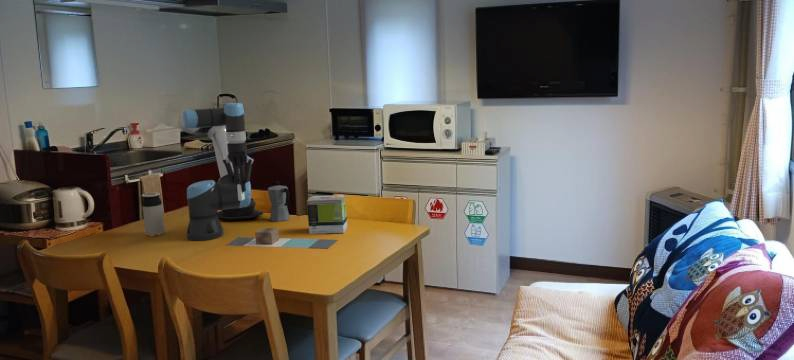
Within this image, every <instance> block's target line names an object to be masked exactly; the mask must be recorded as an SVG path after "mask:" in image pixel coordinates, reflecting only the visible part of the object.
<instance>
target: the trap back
mask: <svg viewBox="0 0 794 360" xmlns="http://www.w3.org/2000/svg"><path fill="white" fill-rule="evenodd" d="M253 239H255V237H247V236H246V237H244V236H243V237H241V236H239V237H237V238H234V239H233V240H232V241H229V242H228V243H226V244H225V246H234V247H235V246H236V247H238V246H239V247H240V246H241V247H244V246H243V245H245V244H247V243H248V242H250V241H251V240H253Z"/></svg>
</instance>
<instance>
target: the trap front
mask: <svg viewBox="0 0 794 360" xmlns="http://www.w3.org/2000/svg"><path fill="white" fill-rule="evenodd" d="M318 239H319V240H318V241H316V242H315V243H314V244H313V245H311V246H310V247H309V248H308V249H320V250H321V249H323V250H327V249H330V247H332V246H334V244H336V242H338V241H339V240H338V239H328V238H327V239H324V238H321V239H320V238H318Z"/></svg>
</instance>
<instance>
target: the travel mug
mask: <svg viewBox="0 0 794 360" xmlns="http://www.w3.org/2000/svg"><path fill="white" fill-rule="evenodd" d="M160 194H161V193H160V192H146V193H143V194H141V197H142V201H141V207H142V215H143V222H144V223H143V225H144V233H145V236H147V235H159V234H162V235H164V234H165V233H164V232H166V229H165V223H164V222H165V221H164V214H163V204H162V203H163V202H162V199H161V198H160ZM163 233H164V234H163ZM159 236H160V235H159Z"/></svg>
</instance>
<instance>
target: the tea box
mask: <svg viewBox="0 0 794 360" xmlns="http://www.w3.org/2000/svg"><path fill="white" fill-rule="evenodd" d="M346 202H347V201H346V195H345V194H337V195H312V196H311V197H309V198H308V199H307V200H306V210H307V221H308V232H309V233H308V234H309V235H310V234H344V233H345V231H346V230H347V229H348V218H347V217H348V216H347V204H346Z"/></svg>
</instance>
